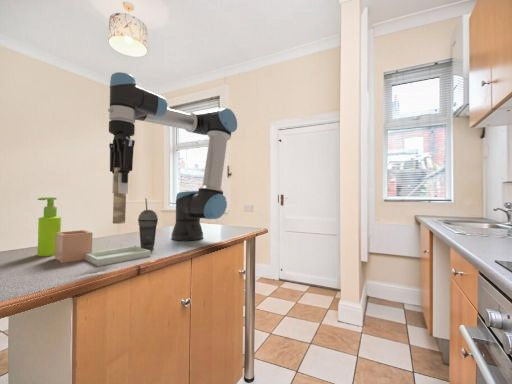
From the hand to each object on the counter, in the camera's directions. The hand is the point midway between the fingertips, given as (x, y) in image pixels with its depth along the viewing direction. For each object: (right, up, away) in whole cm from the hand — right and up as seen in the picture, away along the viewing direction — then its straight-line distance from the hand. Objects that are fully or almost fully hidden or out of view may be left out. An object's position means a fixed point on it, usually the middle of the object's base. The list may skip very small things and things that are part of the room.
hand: (120, 193), depth 82 cm
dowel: (0, -10, 0) cm, 10 cm away
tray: (0, -22, 0) cm, 22 cm away
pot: (-14, -22, -2) cm, 26 cm away
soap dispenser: (-26, -22, +2) cm, 34 cm away
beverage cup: (+2, -22, +16) cm, 27 cm away
